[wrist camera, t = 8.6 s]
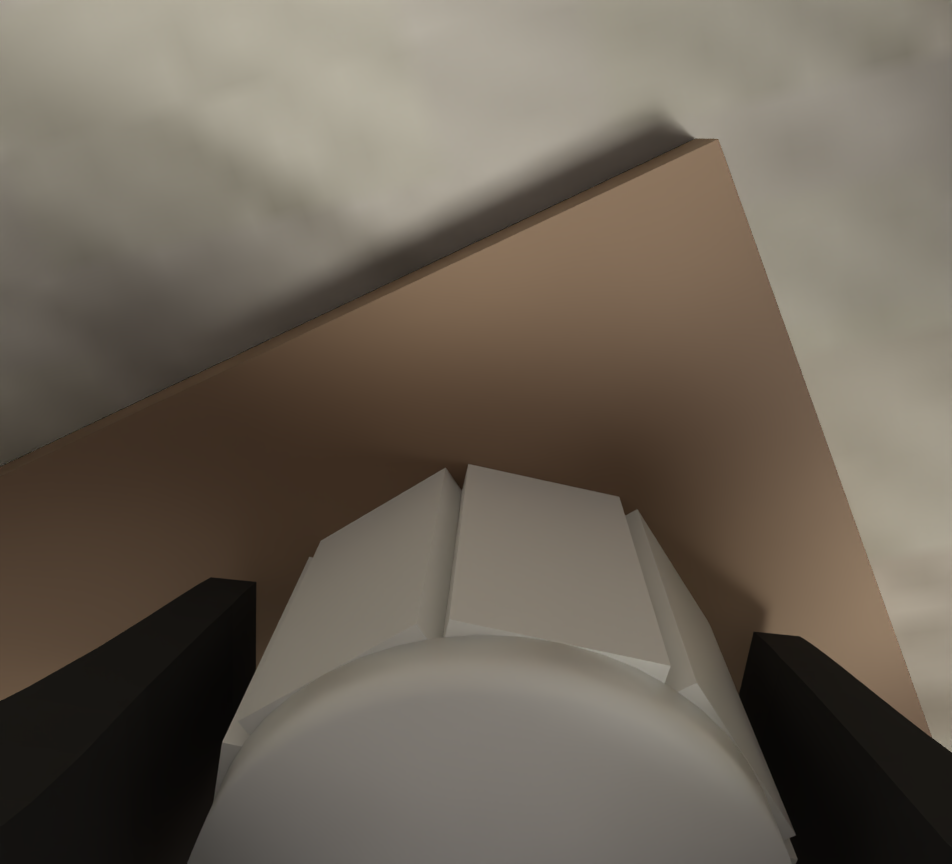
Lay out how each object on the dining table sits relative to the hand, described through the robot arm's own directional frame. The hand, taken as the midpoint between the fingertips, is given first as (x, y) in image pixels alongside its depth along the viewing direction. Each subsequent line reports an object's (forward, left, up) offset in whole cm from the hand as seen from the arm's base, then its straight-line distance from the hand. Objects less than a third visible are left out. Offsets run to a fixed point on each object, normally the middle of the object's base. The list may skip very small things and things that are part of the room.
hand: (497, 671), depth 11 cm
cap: (0, 0, -1) cm, 1 cm away
